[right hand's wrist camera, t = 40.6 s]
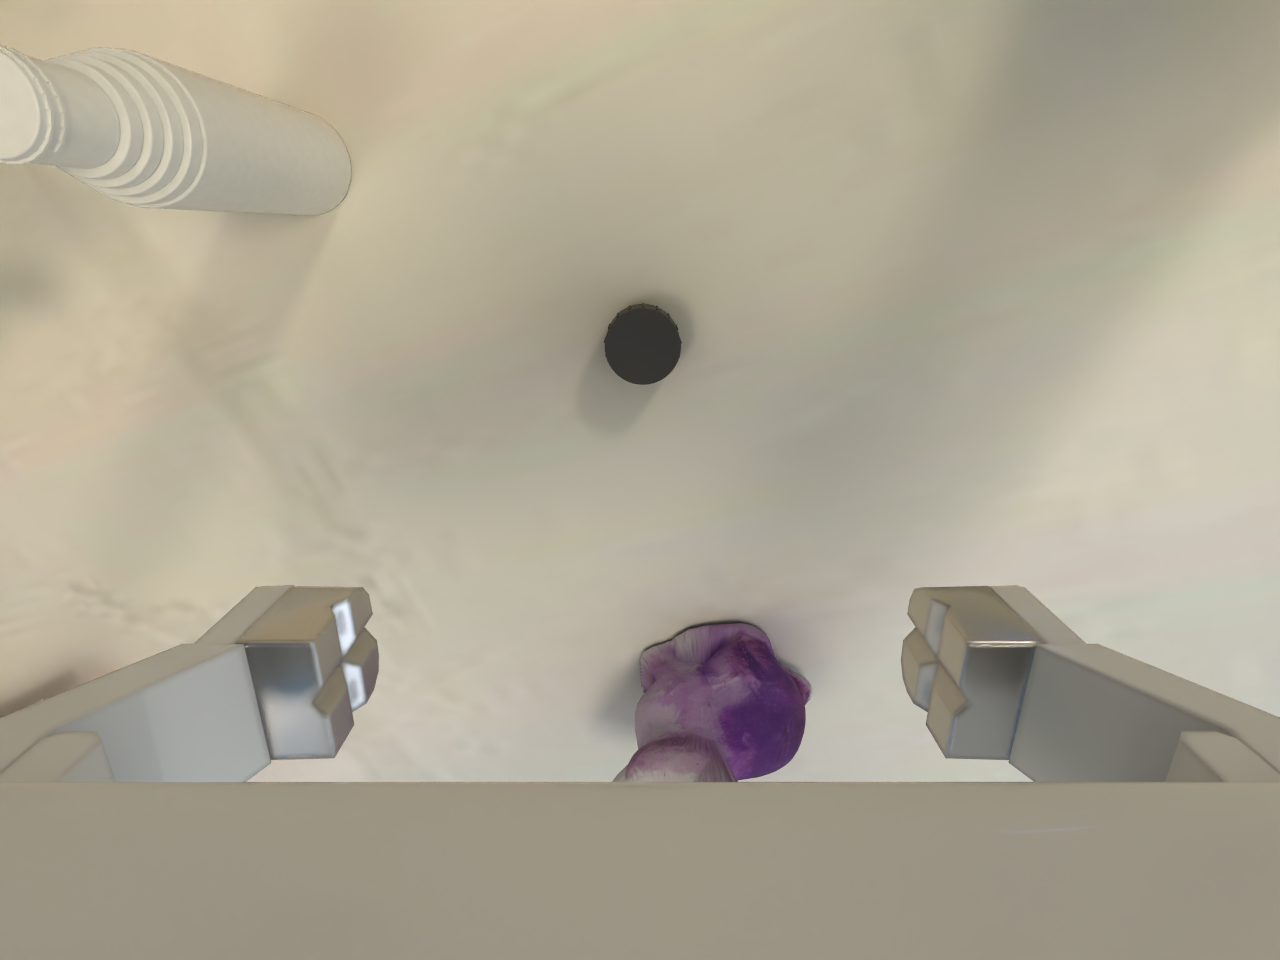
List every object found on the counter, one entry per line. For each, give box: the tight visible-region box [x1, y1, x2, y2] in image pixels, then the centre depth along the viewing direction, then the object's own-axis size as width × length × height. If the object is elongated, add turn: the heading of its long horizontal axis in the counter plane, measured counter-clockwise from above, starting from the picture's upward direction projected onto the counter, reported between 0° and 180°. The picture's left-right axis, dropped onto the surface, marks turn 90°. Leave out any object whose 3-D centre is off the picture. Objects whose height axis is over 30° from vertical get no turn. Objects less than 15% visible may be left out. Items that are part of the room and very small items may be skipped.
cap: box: [604, 303, 681, 385], centre depth 36 cm, size 4×4×2 cm
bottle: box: [0, 45, 351, 216], centre depth 26 cm, size 5×5×18 cm
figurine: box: [613, 623, 812, 782], centre depth 37 cm, size 9×10×15 cm
